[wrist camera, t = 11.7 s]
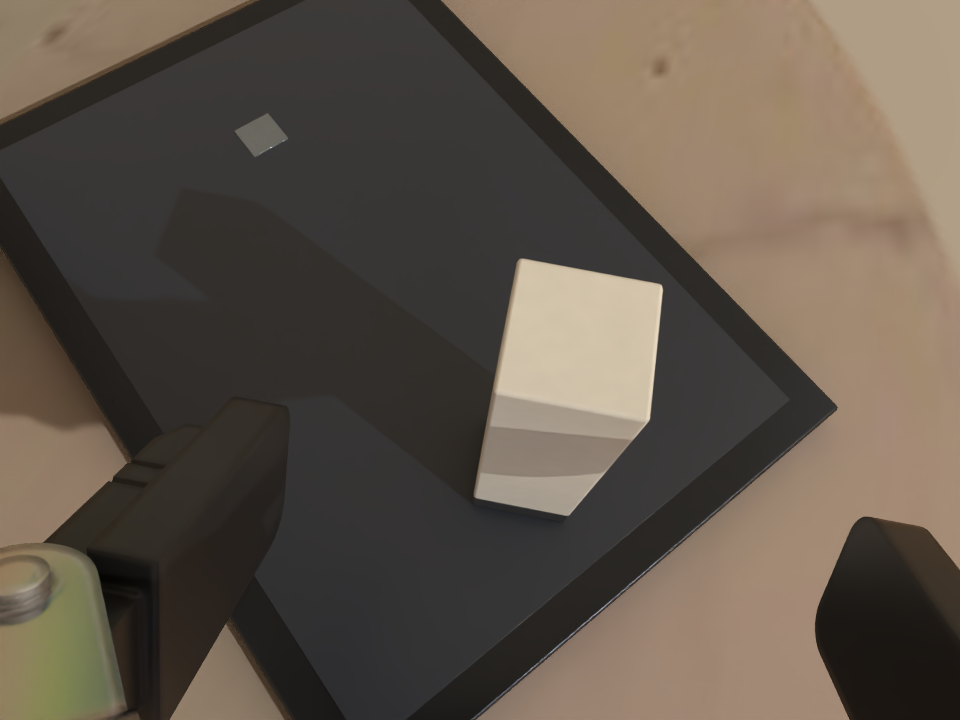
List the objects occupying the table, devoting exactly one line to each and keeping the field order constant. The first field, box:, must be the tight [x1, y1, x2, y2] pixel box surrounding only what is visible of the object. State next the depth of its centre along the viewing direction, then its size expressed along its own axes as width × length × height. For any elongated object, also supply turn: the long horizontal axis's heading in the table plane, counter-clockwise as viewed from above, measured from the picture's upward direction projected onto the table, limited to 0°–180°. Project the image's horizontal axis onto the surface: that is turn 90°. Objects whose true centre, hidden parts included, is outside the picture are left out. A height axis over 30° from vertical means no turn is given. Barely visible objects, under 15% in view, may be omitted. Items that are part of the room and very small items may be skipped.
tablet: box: [0, 0, 838, 720], centre depth 22 cm, size 22×16×1 cm
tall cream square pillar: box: [472, 259, 663, 522], centre depth 15 cm, size 2×2×8 cm
